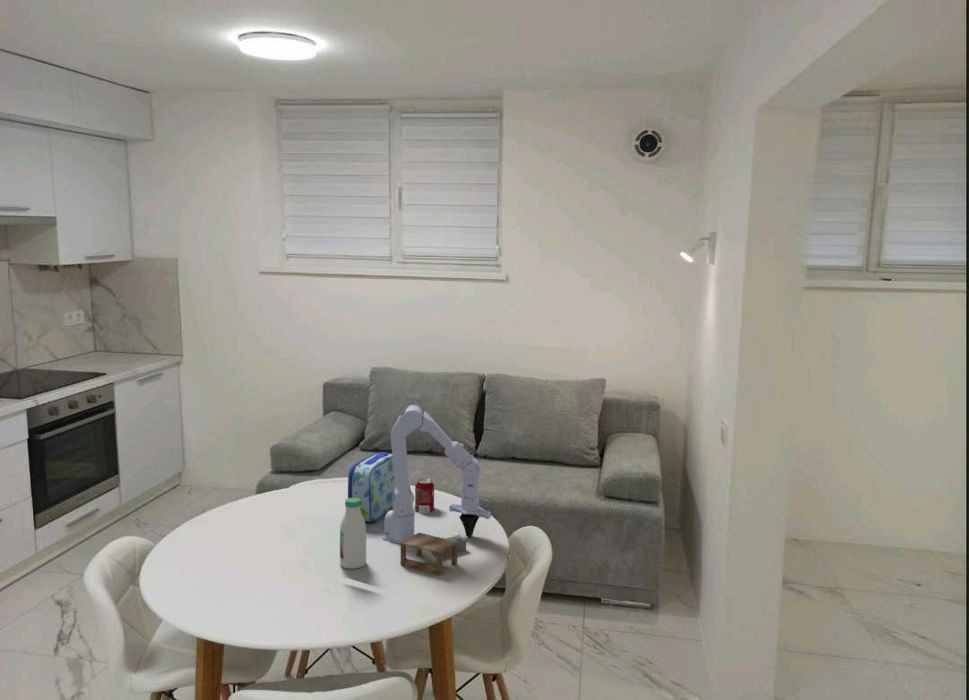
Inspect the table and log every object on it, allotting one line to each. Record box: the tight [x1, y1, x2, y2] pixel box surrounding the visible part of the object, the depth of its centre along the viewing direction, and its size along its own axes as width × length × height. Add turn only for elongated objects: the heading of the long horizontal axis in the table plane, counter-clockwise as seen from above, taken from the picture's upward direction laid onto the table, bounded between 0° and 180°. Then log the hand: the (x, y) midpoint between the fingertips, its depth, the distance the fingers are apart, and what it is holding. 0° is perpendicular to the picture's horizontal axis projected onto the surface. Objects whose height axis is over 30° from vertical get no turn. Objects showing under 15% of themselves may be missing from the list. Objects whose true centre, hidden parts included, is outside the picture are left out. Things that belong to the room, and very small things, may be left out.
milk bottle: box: [339, 497, 367, 570], centre depth 221 cm, size 8×8×20 cm
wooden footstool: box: [400, 532, 458, 577], centre depth 223 cm, size 14×10×7 cm
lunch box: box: [347, 451, 395, 523], centre depth 265 cm, size 26×11×21 cm, turn 164°
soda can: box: [414, 478, 435, 514], centre depth 267 cm, size 7×7×12 cm
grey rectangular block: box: [430, 532, 467, 558], centre depth 232 cm, size 4×10×6 cm, turn 121°
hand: (469, 535), depth 244 cm, fingers closed
